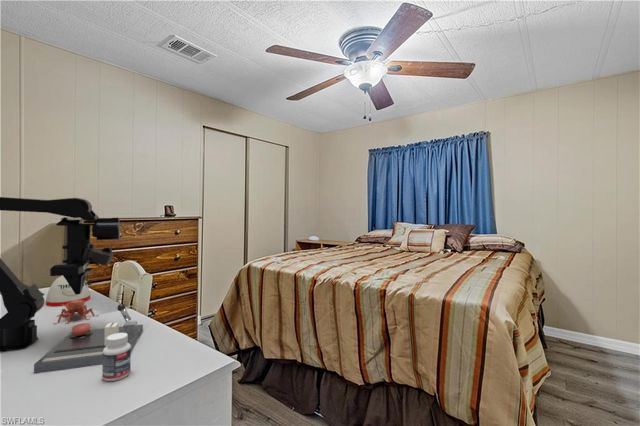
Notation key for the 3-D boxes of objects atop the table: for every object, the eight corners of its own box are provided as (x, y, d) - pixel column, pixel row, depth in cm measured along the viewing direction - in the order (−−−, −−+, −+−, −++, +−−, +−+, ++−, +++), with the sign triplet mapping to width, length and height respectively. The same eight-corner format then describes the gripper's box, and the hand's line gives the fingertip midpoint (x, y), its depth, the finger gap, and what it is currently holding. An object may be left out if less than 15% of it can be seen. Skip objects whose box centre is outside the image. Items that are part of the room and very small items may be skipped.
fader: (104, 346, 78) (104, 327, 78) (108, 341, 81) (108, 323, 81) (115, 345, 79) (115, 326, 79) (118, 340, 81) (118, 322, 81)
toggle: (124, 323, 88) (115, 307, 87) (126, 321, 90) (117, 305, 89) (131, 319, 89) (122, 303, 88) (133, 317, 91) (124, 301, 90)
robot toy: (100, 318, 105) (100, 282, 105) (53, 328, 97) (53, 288, 97) (93, 308, 116) (93, 275, 116) (50, 316, 108) (50, 280, 108)
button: (69, 336, 83) (69, 329, 83) (75, 331, 87) (75, 324, 87) (86, 334, 84) (86, 327, 84) (92, 329, 88) (92, 322, 88)
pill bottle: (116, 383, 66) (116, 342, 66) (96, 380, 67) (96, 339, 67) (136, 370, 71) (136, 332, 71) (117, 368, 72) (117, 330, 72)
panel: (33, 373, 69) (34, 355, 69) (72, 338, 88) (72, 324, 88) (125, 360, 75) (125, 344, 75) (142, 330, 94) (142, 317, 94)
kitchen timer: (93, 301, 125) (93, 264, 125) (48, 309, 114) (49, 269, 114) (85, 294, 134) (85, 260, 134) (43, 301, 124) (43, 264, 124)
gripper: (99, 243, 83) (99, 300, 83) (119, 237, 101) (119, 284, 101) (49, 244, 80) (49, 304, 80) (78, 238, 97) (78, 287, 97)
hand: (78, 294), depth 90 cm, fingers closed
